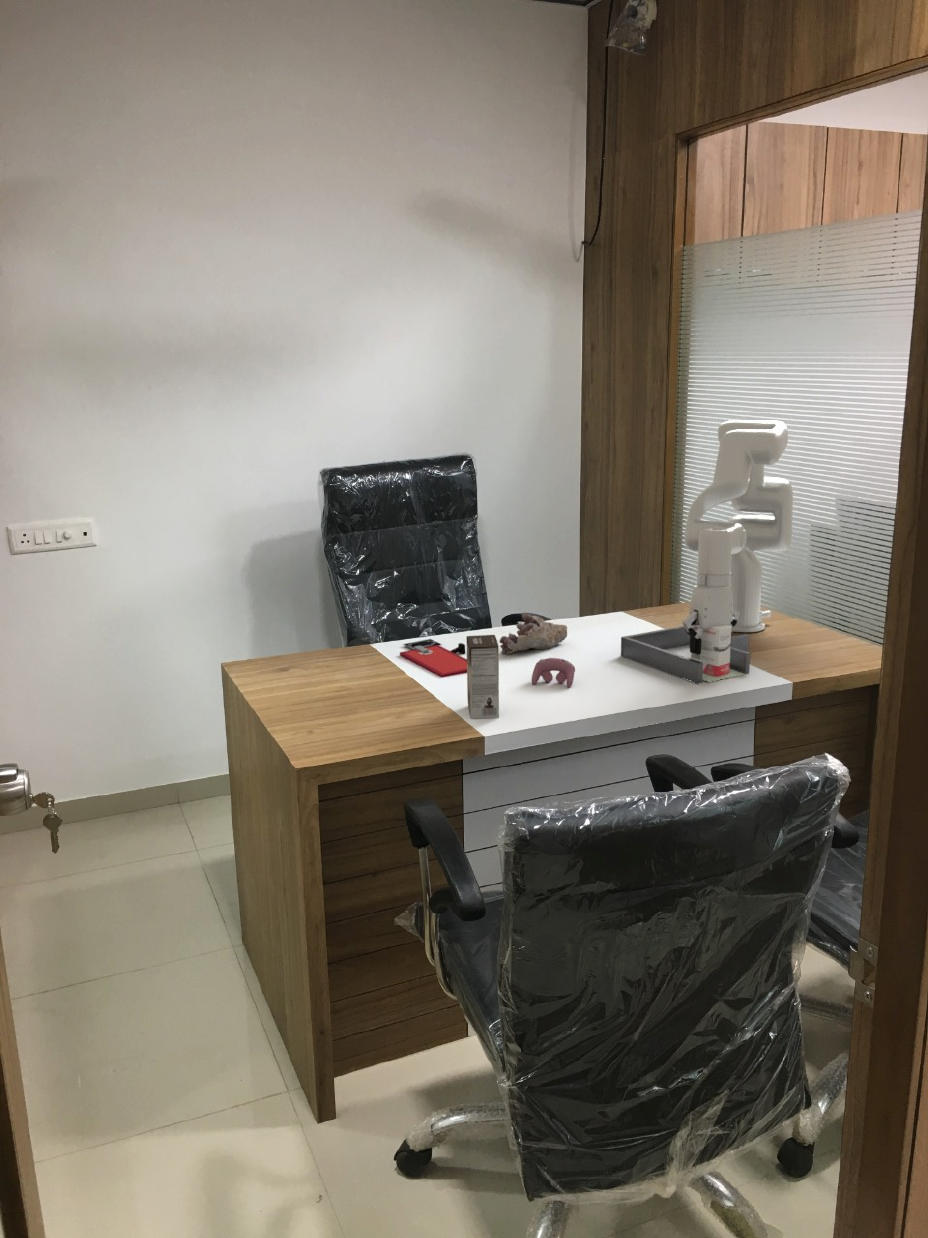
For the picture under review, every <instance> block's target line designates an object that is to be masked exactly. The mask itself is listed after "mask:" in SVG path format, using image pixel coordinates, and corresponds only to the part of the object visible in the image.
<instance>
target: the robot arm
mask: <svg viewBox="0 0 928 1238" xmlns="http://www.w3.org/2000/svg"><path fill="white" fill-rule="evenodd" d="M717 438H718V439H717V440H718V442H719V447H718V453H717V458H716V463H715V467H714V468H715V469H714V474H713V481H712V482H711V484H710V485H709V486H707V487H706V488H705V489H704V490H702V491H701V492H700V494H698V495H697V497H696V498H695V499H694V501H693V502H692V503H691V505H690V508H689V510H688V514H687V519H686V525H685V530H684V536H683V537H684V544H685V546H686V548H687V549H688V550H689V551H691V552H697V571H696V572H697V573H696V584H695V585H694V587H693V589H692V593H691V597H690V603H689V604H690V606H689V611H688V612H689V615H688V616H687V617H686V618H684V620H683V621H682V626H684V628H685V631H686V632H687V633H688V636H690V644H689V652H690V654H691V653H694V654H697V655H700V654H701V641H702V639H701V638H699V637H700V635H701V634H702V632H703V630H704V629H710V628H712V627H716V626H723V625H727V626H731V633H733V632H736V633H755V632H761V631H763V630H765V628H766V624H765V623H764V622H763V619H765V618H766V619H768V618H771V616H772V611H771V610H764V611H763V610H761V598H762V581H763V580H762V579H763V564H762V562H761V560H760V558H759V557H758V555H757V554H756V553H755V552H758V551H760V552H761V551H762V552H784V551H786V550H788V549H789V547H790V546H791V542H792V537H793V512H794V511H793V503H794V499H793V498H794V497H793V496H794V495H793V494H794V493H793V487H792V484H791V482H790V481H789V480H787V479H785V478H781V477H766V476H765V465H775V464H776V463H778V462H779V460H780V458H781V457H782V455H783V454H784V452H785V450H786V447H787V445H788V439H789V431H788V427H787V425H786V424H785V423H784V422H783V421H780V420H752V419H751V420H748V419H747V420H745V419H743V420H728V421H725V422H722V423H721V424H719V426H718V429H717ZM729 501H730V502H731V506H732V508H733V509H734V510H735V511H737V512H739V513H749V514H738V515H734V516H732V517H730V518H729V519H728V520H727V521H718V520H717V521H711V520H702V518H703V516H704V515H705V514H706V513H707V512H708V511H709V510H711V509H713V508H715V507H717V506H719V505H722V504H724V503H727V502H729ZM751 513H752V514H751ZM754 514H755V515H754ZM756 514H768V515H756ZM769 514H770V515H769ZM771 515H772V516H771ZM754 551H755V552H754ZM699 624H700V625H699ZM691 626H692V627H691ZM697 628H698V630H697V632H696V629H697ZM730 648H731V645H730Z"/></svg>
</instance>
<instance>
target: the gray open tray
mask: <svg viewBox="0 0 928 1238" xmlns="http://www.w3.org/2000/svg"><path fill="white" fill-rule="evenodd" d="M691 627H692V626H691ZM620 639H621V641H620V657H623V658H625V659H628V660H631V661H634V662H637V663H639V664H643V665H644V666H647V667H650V668H652V669H655V670H657V671H661V672H663V673H666V674H670V675H672V676H674V675H675V677H676V678H677V677H678V678H680V679H682V678H685V679H688V680H691V681H693V682H695V683H694V684H696V683H702V684H703V681H702V673H703V663H702V662H699V661H696V660H693V659H690V657H687V656H685V655H682V654H678V653H675V652H672V651H670V650H668V649H671V648H677V647H682V646H687V645H690V636H688V633H687V632H686V631H685V628H684V625H679V626H674V627H673V626H672V627H668V628H661V629H657V630H652V631H647V632H641V633H635V634H630V635H626V636H625V635H624V636H621V637H620ZM749 647H750V634H747V633H744V634H743V633H742V634H737V635H735V636H731V648H730V668H729V669H731V670H734V671H737V672H740V673H743V674H749V673H750V667H751V652H750V651H749V649H750V648H749ZM666 649H667V650H666ZM685 679H684V680H685ZM688 680H687V681H688ZM691 681H690V682H691ZM693 682H692V683H693Z"/></svg>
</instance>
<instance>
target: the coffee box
mask: <svg viewBox="0 0 928 1238" xmlns="http://www.w3.org/2000/svg"><path fill="white" fill-rule="evenodd" d="M465 640H466V659H467V673H466V681H467V682H466V685H467V686H466V688H467V689H466V690H467V693H466V694H467V708H468V713H469V717H470V719H471V720H475V719H476V720H477V719H481V720H482V719H496V718H497V719H498V718H500V711H499V710H500V708H499V707H500V699H499V698H500V690H499V689H500V687H499V684H500V681H499V680H500V678H499V675H500V674H499V673H500V672H499V671H500V669H499V667H500V666H499V663H500V661H499V660H500V657H499V655H500V653H499V648H500V645H499V643H498V640H497V636H496V635H495V634H485V635H484V634H482V635H480V634H479V635H467V636H466V639H465Z"/></svg>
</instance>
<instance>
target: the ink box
mask: <svg viewBox="0 0 928 1238" xmlns="http://www.w3.org/2000/svg"><path fill="white" fill-rule="evenodd" d="M699 625H700V624H699ZM697 630H698V628H697V629H696V632H697ZM731 637H732V632H731V626H727V625H723V626H716V627H712V628H710V629H704V630H703V632H702V634H701V635H700V637H699V638H701V639H702V641H701V654H700V655H697V654H694V653H691V652H690V657H689V658H690V659H693V660H696V661H699V662H702V663H703V673H706V674H709V675H713V676H716V677H718V676H721V675H724V674H728V673H729V669H730V645H731Z"/></svg>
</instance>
